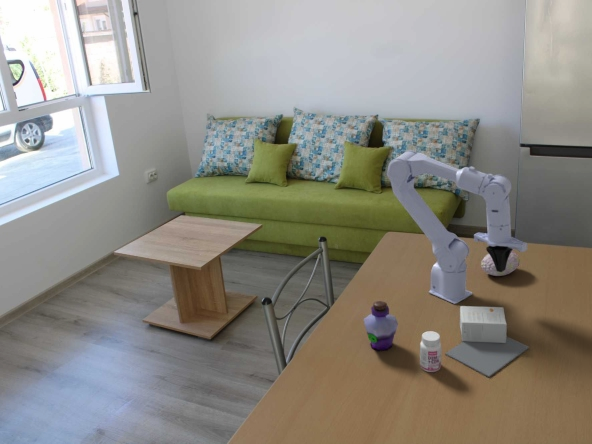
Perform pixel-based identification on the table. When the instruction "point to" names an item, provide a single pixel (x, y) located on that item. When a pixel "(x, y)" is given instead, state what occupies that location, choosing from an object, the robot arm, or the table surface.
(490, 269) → the decorative item
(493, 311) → the small box
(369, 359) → the table surface
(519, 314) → the table surface
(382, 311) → the potion bottle
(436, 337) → the pill bottle
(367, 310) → the table surface
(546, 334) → the table surface
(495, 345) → the mat
